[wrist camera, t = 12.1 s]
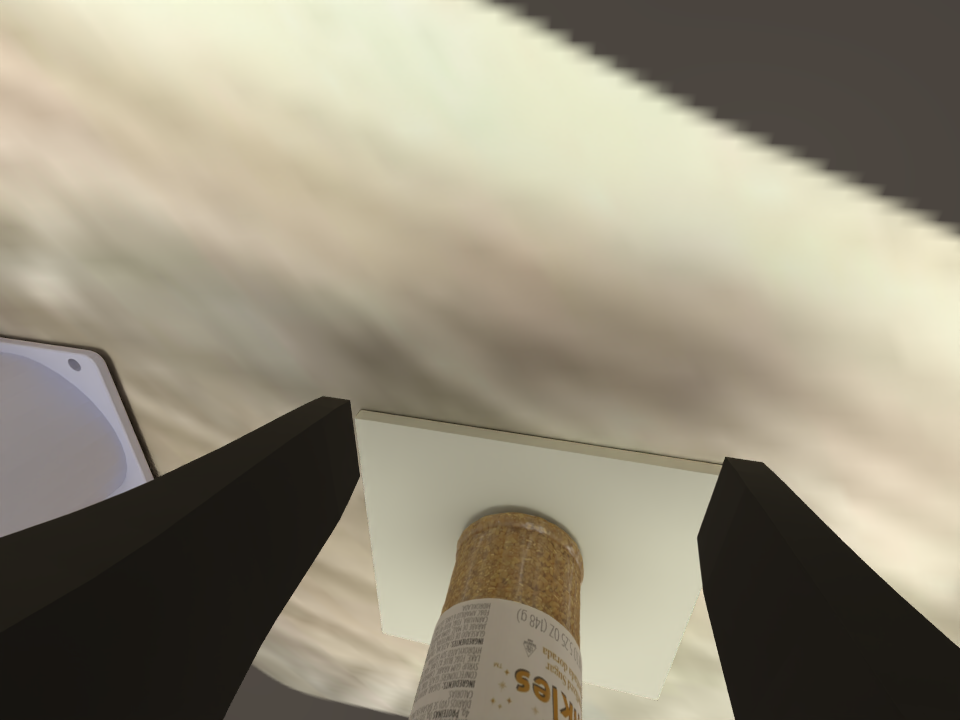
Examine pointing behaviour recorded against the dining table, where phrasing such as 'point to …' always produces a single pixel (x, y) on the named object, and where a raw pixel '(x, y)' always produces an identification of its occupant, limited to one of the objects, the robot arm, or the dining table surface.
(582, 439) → the dining table surface
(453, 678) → the sprinkles bottle
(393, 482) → the sage mat
